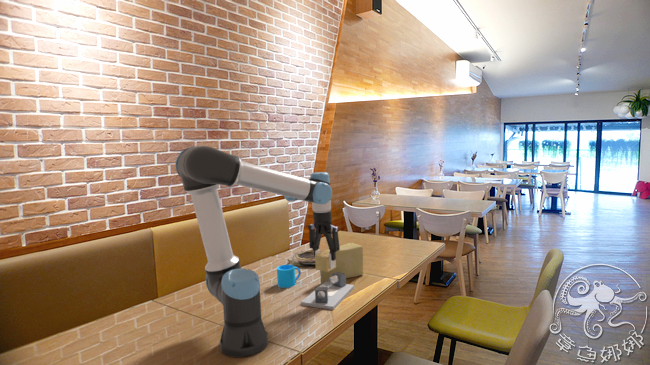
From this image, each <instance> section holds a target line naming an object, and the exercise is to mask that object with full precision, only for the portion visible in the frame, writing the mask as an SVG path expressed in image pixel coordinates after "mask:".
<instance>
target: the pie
mask: <svg viewBox="0 0 650 365" xmlns="http://www.w3.org/2000/svg"><path fill="white" fill-rule="evenodd" d="M322 251H323V250H321V252H322ZM288 260H289V264H288V265H293V266H298V267H299V266H300V267H301V266H302V267H303V266H306V267H307V266H309V267H313V266H315V267H316V265H315V257H314V250H313V249H312V248H311V249H308V250H301V251H296V252H295V253H293V254H292V255H291V257H290V258H288ZM295 270H297V269H296V268H295Z"/></svg>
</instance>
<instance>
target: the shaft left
mask: <svg viewBox="0 0 650 365" xmlns="http://www.w3.org/2000/svg"><path fill="white" fill-rule="evenodd" d="M314 291H315V301H316V303H328V287H326V286H325V285H322V284H321V285H319V286H318V287H317V286H316V287H315V290H314Z"/></svg>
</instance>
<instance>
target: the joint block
mask: <svg viewBox="0 0 650 365" xmlns="http://www.w3.org/2000/svg"><path fill="white" fill-rule="evenodd" d="M322 251H323V252H321V253H319V254H317V255H315V265H316V266H315V270H316V271H319V272H320V271H325V272H329V271H331V270H332V269H334V268H336V260H334V262H335V267H334V268H332V269H330V268H329V252H326V251H324V250H322Z"/></svg>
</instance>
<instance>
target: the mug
mask: <svg viewBox="0 0 650 365" xmlns="http://www.w3.org/2000/svg"><path fill="white" fill-rule="evenodd" d="M295 268H296V269H295ZM296 270H297V272H298V274H297V276H296ZM301 273H302V272H301V269H300V268H299V266H298V267H297V266H296V265H289V264H282V265H281V264H280V265H278V266H277V267H276V278H277V286H278V287H279V288H282V289H286V288H288V289H289V288H292V287H293V288H294V286H296V281H297V280H298V279H300V277H301Z"/></svg>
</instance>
